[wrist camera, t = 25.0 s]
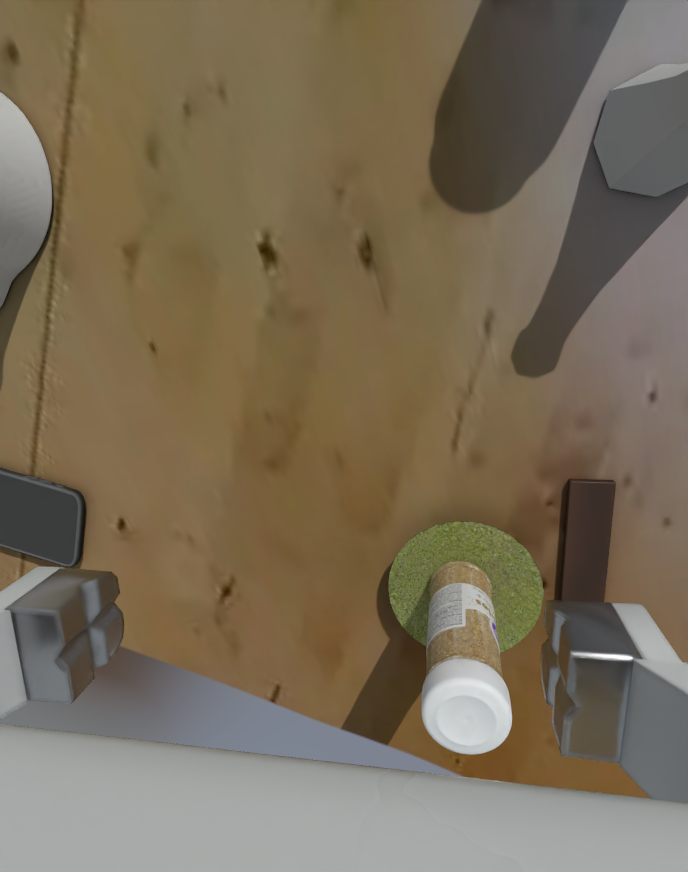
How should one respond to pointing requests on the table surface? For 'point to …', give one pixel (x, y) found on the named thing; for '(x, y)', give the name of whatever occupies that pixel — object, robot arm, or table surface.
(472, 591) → the sprinkles bottle
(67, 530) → the smartphone
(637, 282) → the table surface
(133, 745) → the robot arm
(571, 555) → the walnut strip
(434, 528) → the green flat disc
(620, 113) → the flask
